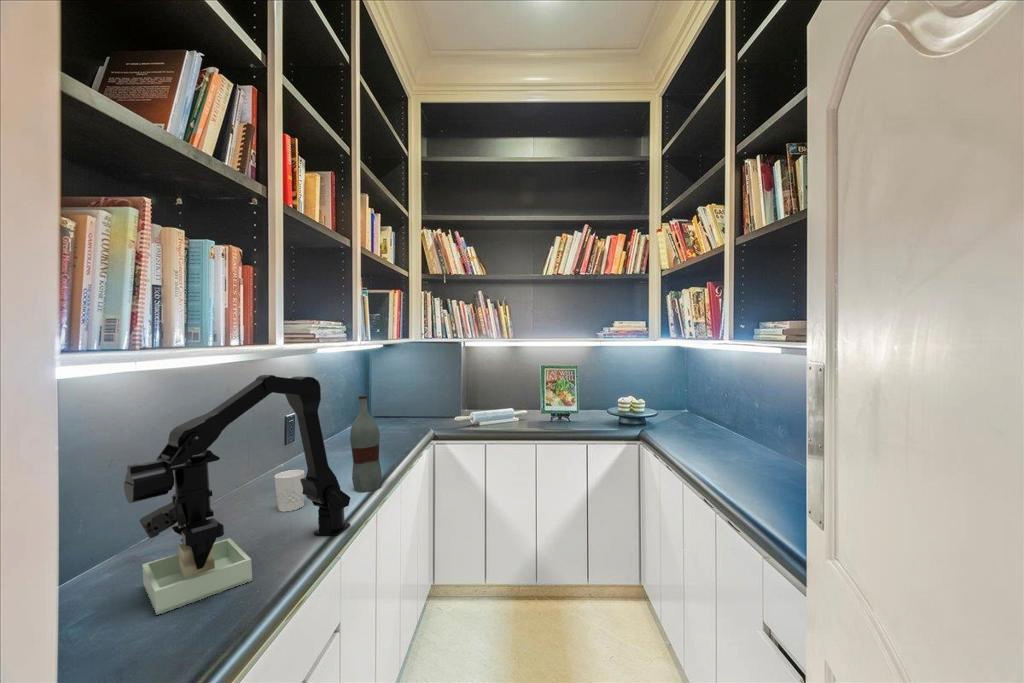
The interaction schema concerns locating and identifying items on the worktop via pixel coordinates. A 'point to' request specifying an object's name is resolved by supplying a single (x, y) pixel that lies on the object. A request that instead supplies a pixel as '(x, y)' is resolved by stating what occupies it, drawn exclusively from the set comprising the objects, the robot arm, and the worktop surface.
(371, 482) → the bottle
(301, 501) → the white cup
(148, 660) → the worktop surface
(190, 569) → the birch block
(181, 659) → the worktop surface
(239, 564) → the sage bin
